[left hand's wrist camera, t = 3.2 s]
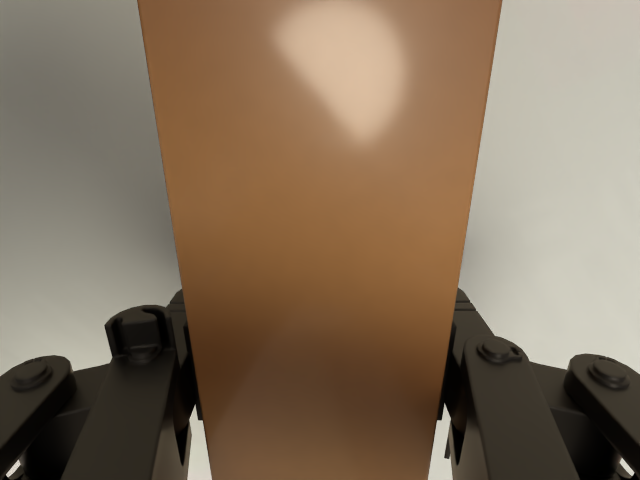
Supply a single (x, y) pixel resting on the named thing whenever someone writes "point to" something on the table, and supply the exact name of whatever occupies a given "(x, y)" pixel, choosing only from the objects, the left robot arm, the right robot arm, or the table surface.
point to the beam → (319, 219)
